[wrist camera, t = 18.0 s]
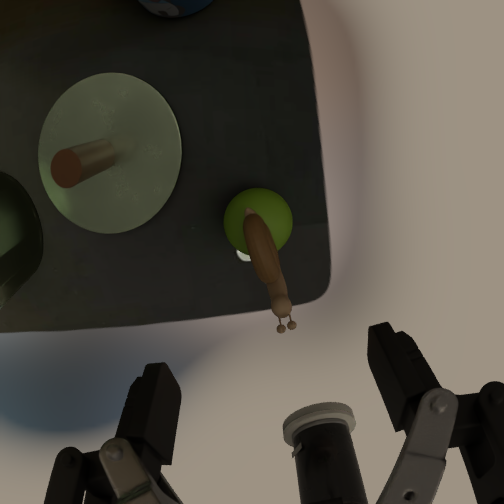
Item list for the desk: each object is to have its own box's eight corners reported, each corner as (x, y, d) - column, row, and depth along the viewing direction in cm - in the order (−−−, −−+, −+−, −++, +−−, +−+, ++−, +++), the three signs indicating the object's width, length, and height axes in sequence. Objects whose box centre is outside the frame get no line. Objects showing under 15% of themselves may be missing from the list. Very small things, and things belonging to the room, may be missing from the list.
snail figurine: (243, 257, 28) (245, 347, 18) (215, 195, 26) (196, 258, 15) (298, 236, 28) (332, 317, 17) (274, 172, 25) (300, 219, 14)
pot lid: (202, 209, 26) (189, 242, 20) (70, 243, 27) (35, 277, 21) (163, 50, 20) (136, 30, 14) (30, 111, 21) (-17, 117, 15)
